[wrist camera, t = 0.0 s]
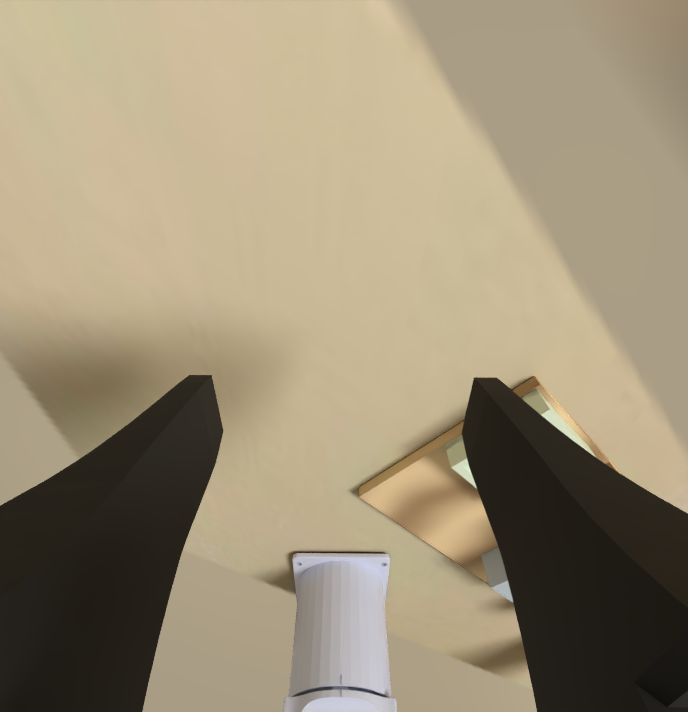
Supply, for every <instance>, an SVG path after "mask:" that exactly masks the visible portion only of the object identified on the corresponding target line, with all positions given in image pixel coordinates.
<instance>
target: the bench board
mask: <svg viewBox="0 0 688 712" xmlns="http://www.w3.org/2000/svg"><path fill="white" fill-rule="evenodd" d="M535 389H537V390H538V391H539V392H540V393H541V394H542V395H543V397H544V398H545V399H546V400H547V401H548V402H549V403H550V404H551V405H552V406H553V408H554V409H555V410H556V411H557V412H558V413H559V414H560V415H561V416H562V417H563V419H564V420H565V421H566V422H567V423H568V424H569V425H570V426H571V427H572V429H573V430H574V431H575V432H576V433H577V434H578V435H579V436H580V437H581V438H582V440H583V441H584V442H585V443H586V444H587V445H588V446H589V448H590V449H591V450H592V452H593V453H594V455H595V456H596V458H598V459H599V460H600V461H602V462H603V463H605V464H606V465H608V466H609V467H611V468H612V469H614V470H615V471H617V472H619V471H618V469H617V468H616V467H615V466H614V465H613V464H612V463H611V462H610V460H609V459H608V458H607V457H606V456H605V455H604V454H603V453H602V452H601V450H600V449H599V448H598V447H597V446H596V445H595V444H594V443H593V441H592V440H591V439H590V438H589V437H588V436H587V435H586V434H585V432H584V431H583V430H582V429H581V428H580V427H579V426H578V425H577V423H576V422H575V421H574V420H573V419H572V418H571V417H570V416H569V414H568V413H567V412H566V411H565V410H564V409H563V408H562V407H561V405H560V404H559V403H558V402H557V401H556V400H555V399H554V398H553V396H552V395H551V394H550V393H549V392H548V391H547V390H546V389H545V387H544V386H543V385H542V384H541V383H540V382H539V381H538V380H537V379H536V377H535V376H534V377H532V378H531V379H529V380H528V381H526V382H524V383H523V384H521V385H520V386H518V387H517V388H515V389H513V390H512V391H513V392H514V393H516V394H517V395H518V396H519V397H520V398H522V397H523V396H525V395H527V394H528V393H530V392H531V391H533V390H535ZM463 424H464V421H463V422H461V423H460V424H458V425H457V426H455V427H453V428H452V429H450V430H449V431H447V432H446V433H444V434H442V435H441V436H439V437H438V438H436V439H435V440H433V441H431V442H430V443H428V444H427V445H425V446H424V447H422V448H420V449H419V450H417V451H416V452H414V453H412V454H411V455H409V456H408V457H406V458H405V459H403V460H401V461H400V462H398V463H397V464H395V465H394V466H392V467H390V468H389V469H387V470H386V471H384V472H383V473H381V474H379V475H378V476H376V477H375V478H373V479H371V480H370V481H368V482H367V483H365V484H364V485H362V486H360V487H359V497H360V498H361V499H363V500H364V501H366V502H367V503H369V504H370V505H372V506H373V507H375V508H376V509H378V510H379V511H381V512H382V513H384V514H385V515H387V516H388V517H390V518H391V519H393V520H394V521H396V522H397V523H399V524H400V525H401V526H403V527H404V528H406V529H407V530H409V531H410V532H412V533H413V534H415V535H416V536H418V537H419V538H421V539H422V540H424V541H425V542H427V543H428V544H430V545H431V546H433V547H434V548H436V549H437V550H439V551H440V552H442V553H443V554H445V555H446V556H448V557H449V558H451V559H452V560H454V561H455V562H456V563H458V564H459V565H461V566H462V567H464V568H465V569H467V570H468V571H470V572H471V573H473V574H474V575H476V576H477V577H479V578H480V579H482V580H483V581H485V582H486V583H488V584H489V580H488V577H487V574H486V570H485V567H484V564H483V560H482V557H481V555H483V554H485V553H487V552H489V551H491V550H493V549H496V548H498V544H497V541H496V539H495V536H494V533H493V530H492V528H491V525H490V522H489V520H488V517H487V514H486V512H485V509H484V506H483V503H482V501H481V498H480V495H479V493H478V490H477V488H475V487H474V486H473V485H472V484H471V483H469V482H468V481H467V480H466V479H465V478H463V477H462V476H461V475H460V474H458V473H457V472H456V471H455V470H454V469H452V468H451V465H450V462H449V458H448V455H447V451H446V448H445V445H446V444H447V443H449V442H451V441H452V440H454V439H456V438H457V437H459V436H460V435H462V428H463ZM619 473H620V472H619ZM620 474H621V473H620ZM489 585H490V584H489Z"/></svg>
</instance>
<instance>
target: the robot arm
mask: <svg viewBox="0 0 688 712" xmlns="http://www.w3.org/2000/svg"><path fill="white" fill-rule="evenodd" d="M222 434H223V427H222V423H221V418H220V413H219V408H218V404H217V399H216V394H215V390H214V385H213V380H212V375H189V376H188V377H186V378H185V379H184V380H182V381H181V382H180V383H179V384H177V385H176V386H175V387H174V388H172V389H171V390H170V391H169V392H168V393H166V394H165V395H164V396H163V397H162V398H160V399H159V400H158V401H157V402H156V403H154V404H153V405H152V406H151V407H149V408H148V409H147V410H146V411H144V412H143V413H142V414H141V415H139V416H138V417H137V418H136V419H134V420H133V421H132V422H131V423H129V424H128V425H127V426H125V427H124V428H123V429H121V430H120V431H118V432H117V433H116V434H114V435H113V436H112V437H110V438H109V439H108V440H106V441H105V442H104V443H102V444H101V445H100V446H98V447H97V448H95V449H94V450H92V451H91V452H90V453H88V454H87V455H85V456H84V457H82V458H81V459H79V460H78V461H76V462H75V463H73V464H71V465H70V466H68V467H67V468H65V469H63V470H62V471H60V472H59V473H57V474H55V475H54V476H52V477H51V478H49V479H47V480H46V481H44V482H42V483H40V484H38V485H37V486H35V487H33V488H31V489H29V490H28V491H26V492H24V493H22V494H21V495H19V496H17V497H15V498H13V499H12V500H10V501H8V502H6V503H4V504H3V505H1V506H0V712H142V710H143V705H144V700H145V696H146V691H147V686H148V682H149V678H150V673H151V669H152V665H153V661H154V656H155V652H156V647H157V643H158V639H159V635H160V631H161V627H162V623H163V619H164V615H165V612H166V607H167V604H168V600H169V596H170V592H171V588H172V585H173V581H174V578H175V574H176V571H177V567H178V563H179V560H180V556H181V553H182V550H183V547H184V545H185V542H186V539H187V536H188V534H189V531H190V528H191V526H192V523H193V521H194V518H195V516H196V513H197V510H198V508H199V505H200V503H201V500H202V498H203V495H204V492H205V490H206V487H207V485H208V482H209V479H210V477H211V474H212V471H213V469H214V466H215V463H216V459H217V455H218V451H219V447H220V443H221V439H222ZM462 437H463V442H464V447H465V452H466V456H467V460H468V464H469V468H470V470H471V473H472V476H473V479H474V482H475V484H476V487H477V490H478V493H479V495H480V498H481V501H482V503H483V506H484V509H485V512H486V514H487V517H488V520H489V522H490V525H491V528H492V530H493V533H494V536H495V539H496V541H497V544H498V548H499V551H500V554H501V557H502V560H503V564H504V568H505V572H506V576H507V579H508V583H509V587H510V591H511V595H512V599H513V603H514V607H515V611H516V615H517V620H518V624H519V628H520V632H521V636H522V641H523V645H524V650H525V655H526V659H527V664H528V669H529V673H530V678H531V683H532V687H533V692H534V697H535V702H536V708H537V712H688V514H687V513H686V512H684V511H682V510H680V509H678V508H677V507H675V506H673V505H671V504H670V503H668V502H666V501H664V500H663V499H661V498H659V497H657V496H655V495H654V494H652V493H650V492H649V491H647V490H645V489H644V488H642V487H640V486H639V485H637V484H636V483H634V482H632V481H631V480H629V479H628V478H626V477H625V476H623V475H622V474H620V473H619V472H617V471H615V470H614V469H612V468H611V467H609V466H608V465H606V464H605V463H603V462H602V461H600V460H599V459H598V458H596V457H595V456H593V455H592V454H591V453H589V452H588V451H586V450H585V449H584V448H582V447H581V446H580V445H578V444H577V443H576V442H574V441H573V440H572V439H570V438H569V437H568V436H566V435H565V434H564V433H563V432H561V431H560V430H559V429H558V428H556V427H555V426H554V425H553V424H551V423H550V422H549V421H548V420H546V419H545V418H544V417H543V416H542V415H540V414H539V413H538V412H537V411H536V410H534V409H533V408H532V407H531V406H530V405H529V404H527V403H526V402H525V401H524V400H523V399H521V398H520V397H519V396H518V395H517V394H516V393H514V392H513V391H512V390H511V389H510V388H509V387H507V386H506V385H505V384H504V383H503V382H501V381H500V380H499V379H497V378H474V381H473V385H472V390H471V394H470V398H469V402H468V407H467V411H466V415H465V420H464V424H463V428H462ZM292 562H293V571H294V580H295V589H296V598H297V614H296V624H295V635H294V645H293V656H292V667H291V677H290V688H289V697H285V698H284V705H283V712H397V705H396V699H395V698H392V697H391V684H390V671H389V658H388V646H387V632H386V619H385V606H384V605H385V597H386V589H387V582H388V574H389V566H390V556H389V555H388V554H362V553H296V554H294V555H293V559H292Z"/></svg>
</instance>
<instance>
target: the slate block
mask: <svg viewBox="0 0 688 712" xmlns="http://www.w3.org/2000/svg"><path fill="white" fill-rule="evenodd" d="M481 557H482V560H483V564H484V567H485V570H486V574H487V577H488V580H489V584H490V587H491V588H492V589H493V590H495V591H496V592H498V593H499V594H501V595H502V596H504V597H505V598H507V599H508V600H510V601H511V602H513V599H512V595H511V591H510V587H509V583H508V579H507V576H506V572H505V568H504V564H503V560H502V557H501V554H500V551H499V548H496V549H493V550H491V551H489V552H487V553H485V554H483V555H481Z"/></svg>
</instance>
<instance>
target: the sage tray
mask: <svg viewBox="0 0 688 712" xmlns="http://www.w3.org/2000/svg"><path fill="white" fill-rule="evenodd" d="M521 399H523V400H524V401H525V402H526V403H527V404H529V405H530V406H531V407H532V408H533V409H534V410H536V411H537V412H538V413H539V414H540V415H542V416H543V417H544V418H545V419H546V420H548V421H549V422H550V423H551V424H553V425H554V426H555V427H556V428H558V429H559V430H560V431H561V432H563V433H564V434H565V435H566V436H568V437H569V438H570V439H572V440H573V441H574V442H576V443H577V444H578V445H580V446H581V447H582V448H584V449H585V450H586V451H588V452H589V453H591V454H592V455H593V456H595V455H594V453H593V452H592V450H591V449H590V448H589V446H588V445H587V444H586V443H585V442H584V441H583V440H582V438H581V437H580V436H579V435H578V434H577V433H576V432H575V431H574V430H573V429H572V427H571V426H570V425H569V424H568V423H567V422H566V421H565V420H564V419H563V417H562V416H561V415H560V414H559V413H558V412H557V411H556V410H555V409H554V408H553V406H552V405H551V404H550V403H549V402H548V401H547V400H546V399H545V398H544V397H543V395H542V394H541V393H540V392H539V391H538V390H537V389H535V390H533V391H531V392H530V393H528V394H527V395H525V396H523V397H522V398H521ZM445 448H446V451H447V455H448V458H449V462H450V465H451V468H452V469H454V470H455V471H456V472H457V473H458V474H460V475H461V476H462V477H463V478H465V479H466V480H467V481H468V482H469V483H471V484H472V485H473V486H474V487H475V488H477V487H476V484H475V482H474V479H473V476H472V473H471V470H470V468H469V464H468V460H467V456H466V452H465V447H464V442H463V437H462V435H460V436H459V437H457V438H456V439H454V440H452V441H451V442H449V443H447V444H446V445H445ZM595 457H596V456H595Z"/></svg>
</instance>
